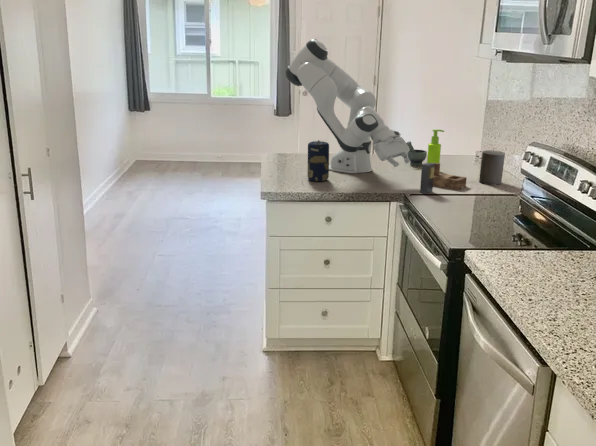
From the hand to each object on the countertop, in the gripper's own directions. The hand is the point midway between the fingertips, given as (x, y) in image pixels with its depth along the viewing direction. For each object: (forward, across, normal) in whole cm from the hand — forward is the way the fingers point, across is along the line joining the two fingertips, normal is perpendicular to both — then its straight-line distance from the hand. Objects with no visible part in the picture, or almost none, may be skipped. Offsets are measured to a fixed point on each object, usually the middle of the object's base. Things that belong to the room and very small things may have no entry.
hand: (402, 164), depth 253 cm
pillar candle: (+26, +34, -10) cm, 44 cm away
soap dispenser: (+4, +38, +11) cm, 40 cm away
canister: (-18, -14, +32) cm, 39 cm away
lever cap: (+16, -1, -1) cm, 16 cm away
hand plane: (+16, +16, -2) cm, 23 cm away
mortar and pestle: (-6, +46, +21) cm, 51 cm away
